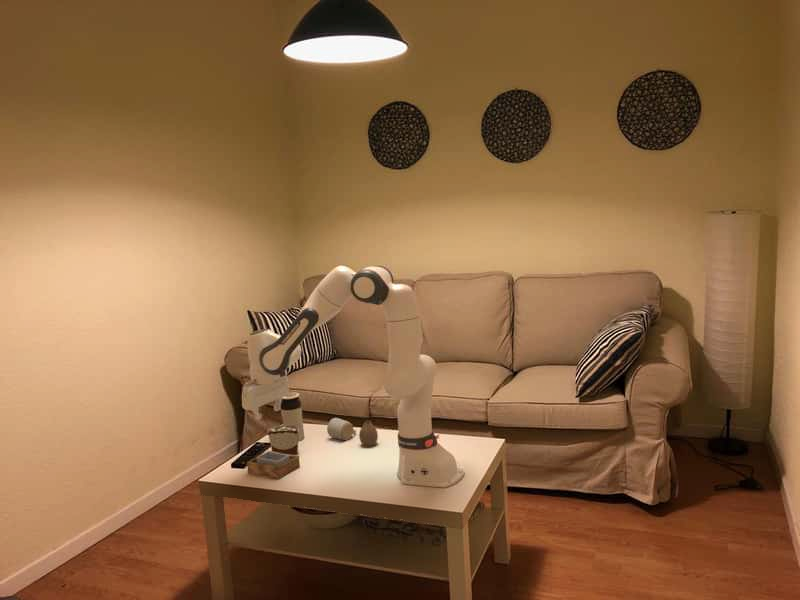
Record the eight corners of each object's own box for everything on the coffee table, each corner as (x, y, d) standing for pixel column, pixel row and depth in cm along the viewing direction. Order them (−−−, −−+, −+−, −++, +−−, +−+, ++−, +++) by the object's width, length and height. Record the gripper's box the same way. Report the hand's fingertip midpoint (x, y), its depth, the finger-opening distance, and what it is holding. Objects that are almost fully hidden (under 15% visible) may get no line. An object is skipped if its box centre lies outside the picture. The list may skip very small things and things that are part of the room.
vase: (362, 441, 264) (360, 419, 262) (379, 441, 263) (378, 419, 261) (358, 448, 257) (356, 425, 256) (376, 447, 256) (374, 425, 255)
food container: (305, 448, 261) (302, 423, 259) (301, 454, 255) (298, 429, 253) (273, 449, 262) (271, 424, 260) (269, 456, 256) (266, 430, 254)
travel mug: (306, 435, 276) (302, 391, 273) (301, 442, 268) (297, 397, 265) (286, 435, 276) (282, 392, 274) (281, 443, 269) (277, 398, 266)
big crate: (300, 467, 243) (299, 456, 242) (278, 479, 234) (277, 468, 233) (270, 461, 251) (269, 450, 250) (247, 473, 241) (246, 462, 241)
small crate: (290, 467, 242) (289, 455, 241) (278, 473, 237) (277, 461, 236) (269, 463, 247) (267, 451, 247) (257, 469, 242) (256, 457, 242)
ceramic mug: (342, 443, 264) (341, 423, 262) (327, 439, 269) (326, 420, 268) (361, 435, 272) (360, 416, 270) (346, 431, 277) (345, 413, 276)
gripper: (249, 385, 227) (253, 425, 229) (290, 369, 244) (294, 406, 246) (235, 383, 230) (240, 423, 232) (276, 368, 247) (280, 405, 249)
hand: (268, 414), depth 239 cm, fingers open, 8 cm apart
